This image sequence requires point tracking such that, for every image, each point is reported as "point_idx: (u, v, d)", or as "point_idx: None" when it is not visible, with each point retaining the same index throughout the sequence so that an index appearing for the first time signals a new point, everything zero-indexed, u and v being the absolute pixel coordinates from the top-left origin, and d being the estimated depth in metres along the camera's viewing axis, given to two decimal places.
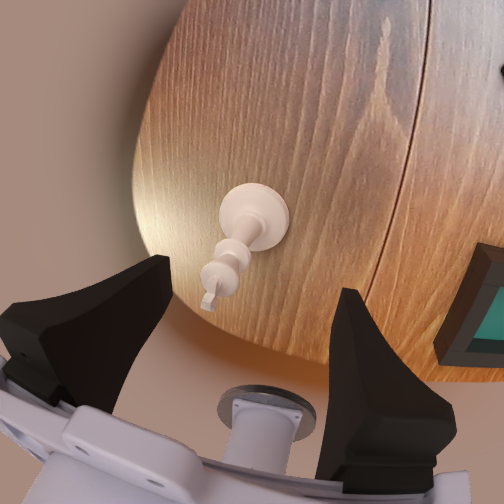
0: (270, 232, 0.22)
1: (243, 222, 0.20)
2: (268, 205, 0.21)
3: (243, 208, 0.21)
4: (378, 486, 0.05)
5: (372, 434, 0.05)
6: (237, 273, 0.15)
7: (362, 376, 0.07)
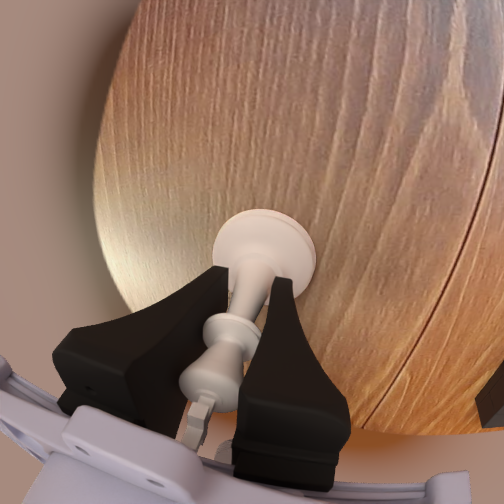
0: None
1: (248, 273, 0.13)
2: (286, 245, 0.14)
3: (249, 248, 0.14)
4: (266, 475, 0.06)
5: (247, 416, 0.06)
6: None
7: (254, 359, 0.07)
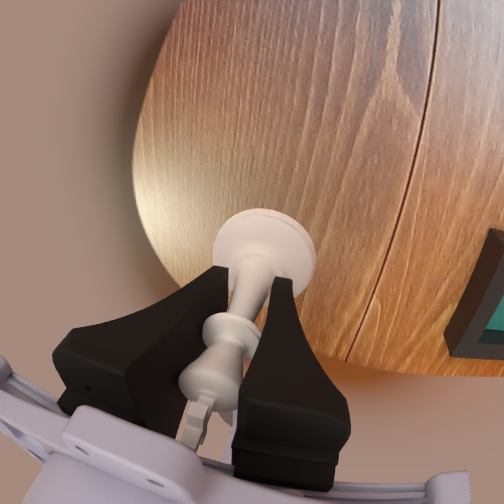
0: None
1: (248, 272, 0.13)
2: (286, 245, 0.14)
3: (248, 248, 0.14)
4: (266, 475, 0.06)
5: (247, 416, 0.06)
6: None
7: (254, 359, 0.07)
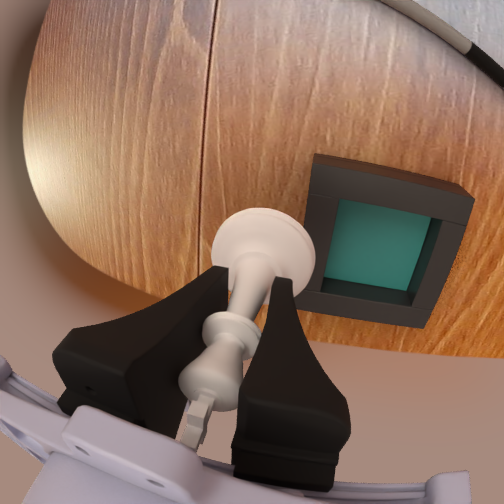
0: None
1: (248, 271, 0.13)
2: (286, 244, 0.14)
3: (248, 247, 0.14)
4: (266, 475, 0.06)
5: (247, 416, 0.06)
6: None
7: (254, 359, 0.07)
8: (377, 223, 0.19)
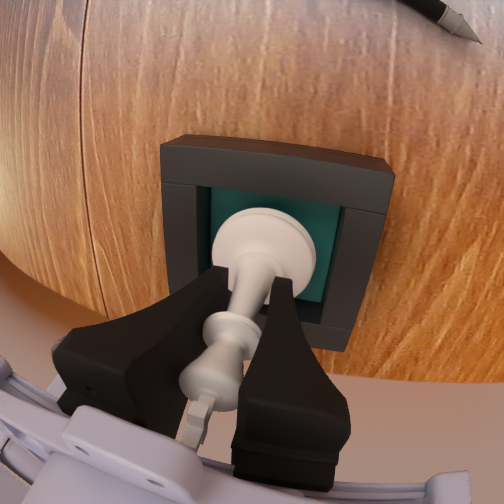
0: None
1: (248, 271, 0.13)
2: (286, 243, 0.14)
3: (248, 247, 0.14)
4: (266, 475, 0.06)
5: (247, 416, 0.06)
6: None
7: (254, 359, 0.07)
8: None
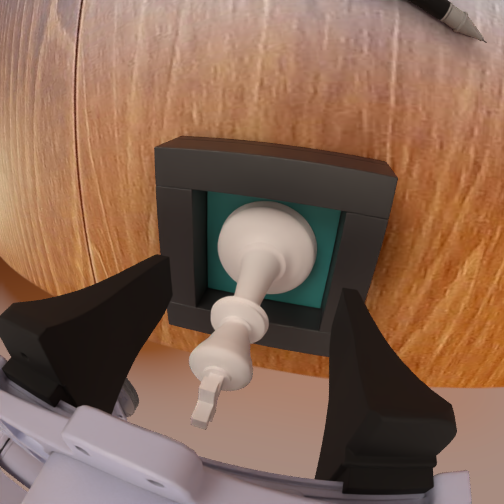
0: (290, 271, 0.15)
1: (253, 261, 0.14)
2: (289, 235, 0.14)
3: (253, 238, 0.15)
4: (378, 486, 0.05)
5: (372, 434, 0.05)
6: (249, 362, 0.09)
7: (362, 376, 0.07)
8: None
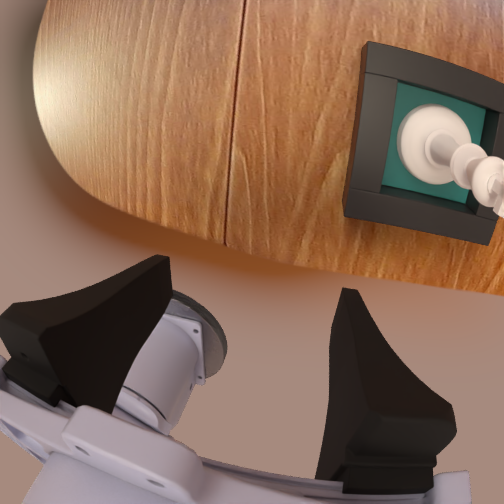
0: None
1: (448, 139, 0.13)
2: (459, 129, 0.14)
3: (436, 128, 0.15)
4: (378, 486, 0.05)
5: (372, 434, 0.05)
6: None
7: (362, 376, 0.07)
8: None
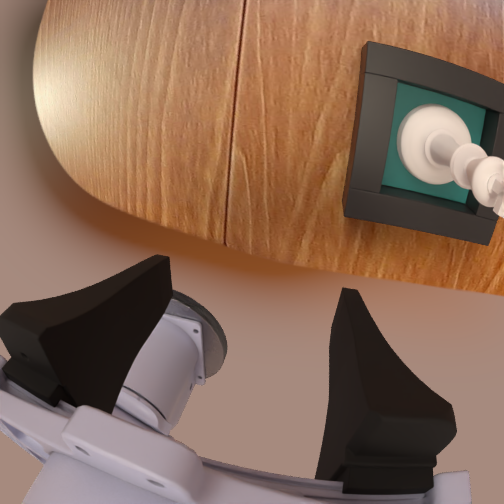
0: None
1: (448, 139, 0.13)
2: (459, 129, 0.14)
3: (436, 128, 0.15)
4: (378, 486, 0.05)
5: (372, 434, 0.05)
6: None
7: (362, 376, 0.07)
8: None
